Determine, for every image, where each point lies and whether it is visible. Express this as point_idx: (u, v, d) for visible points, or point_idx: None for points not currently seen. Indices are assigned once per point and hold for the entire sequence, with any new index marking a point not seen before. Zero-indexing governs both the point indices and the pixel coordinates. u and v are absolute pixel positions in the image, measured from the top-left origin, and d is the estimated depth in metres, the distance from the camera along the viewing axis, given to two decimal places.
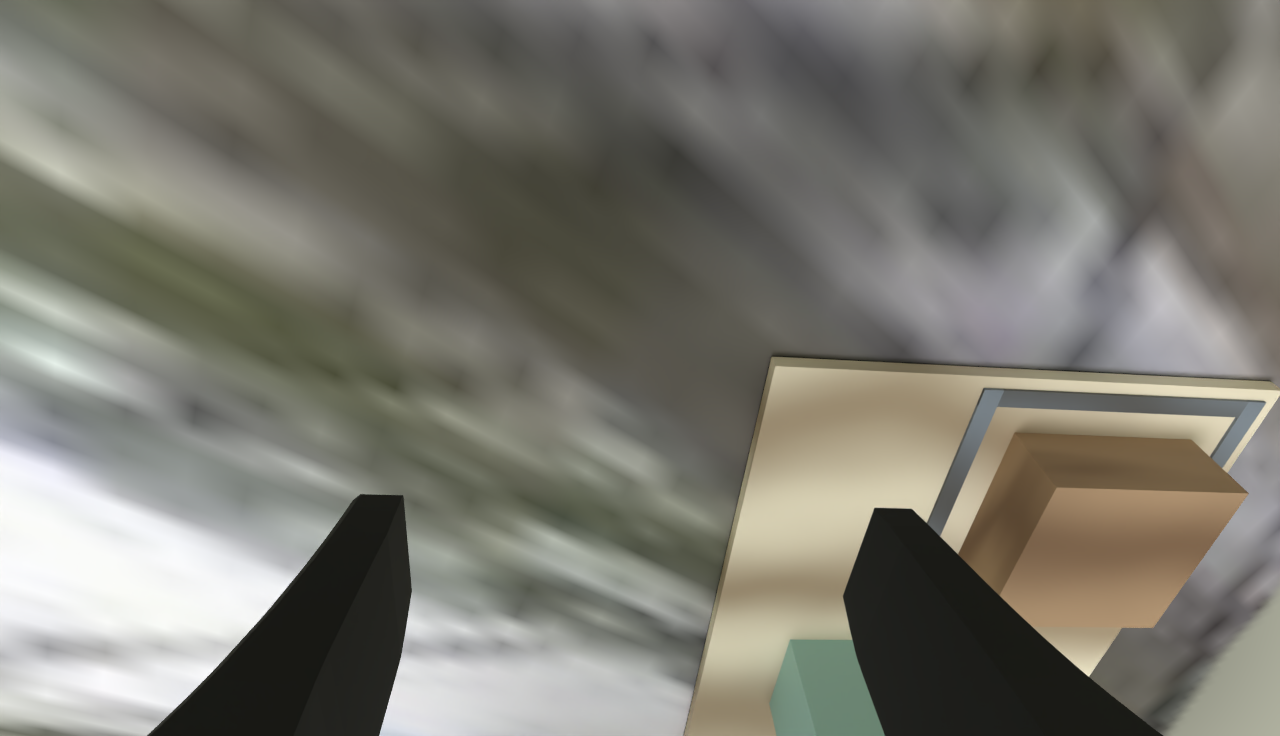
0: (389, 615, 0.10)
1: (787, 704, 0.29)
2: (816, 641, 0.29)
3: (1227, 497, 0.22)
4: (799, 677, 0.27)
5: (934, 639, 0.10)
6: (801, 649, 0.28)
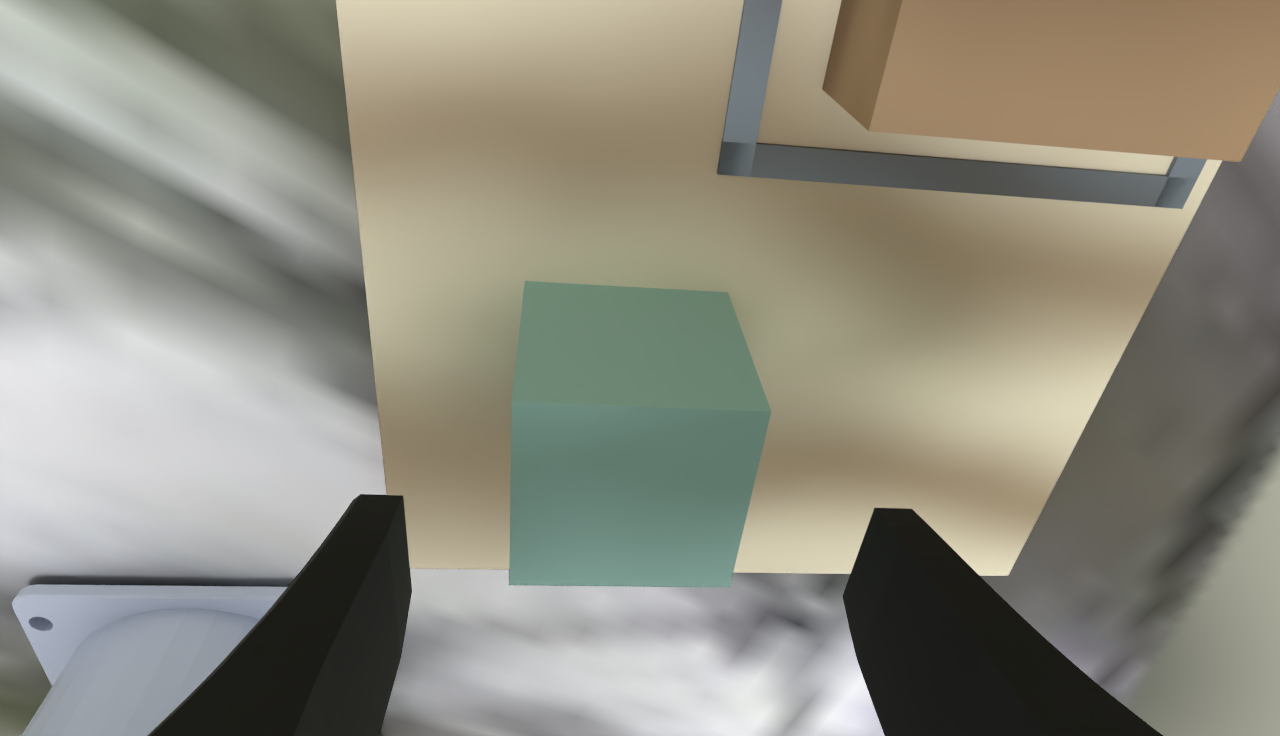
0: (389, 615, 0.10)
1: None
2: (577, 287, 0.15)
3: None
4: (520, 325, 0.14)
5: (934, 639, 0.10)
6: (540, 292, 0.15)
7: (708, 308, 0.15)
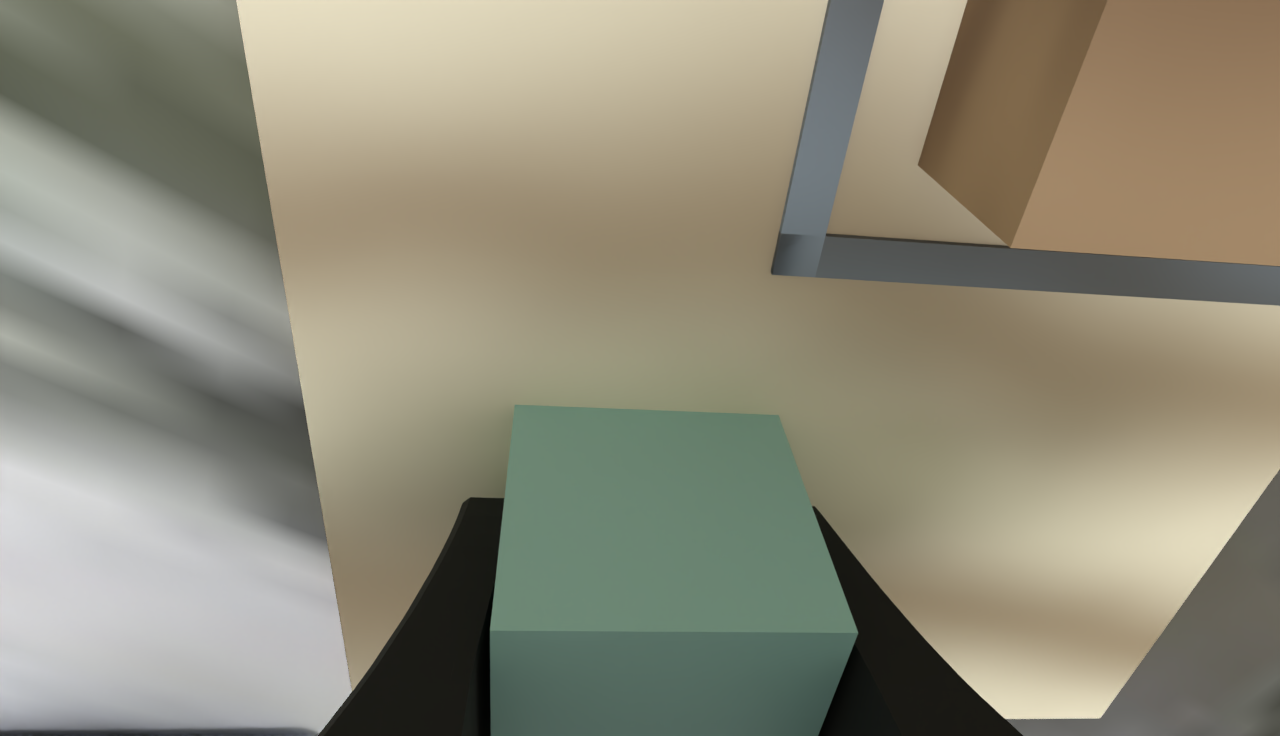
0: None
1: None
2: (583, 411, 0.12)
3: None
4: (507, 479, 0.10)
5: None
6: (534, 423, 0.11)
7: (755, 443, 0.11)
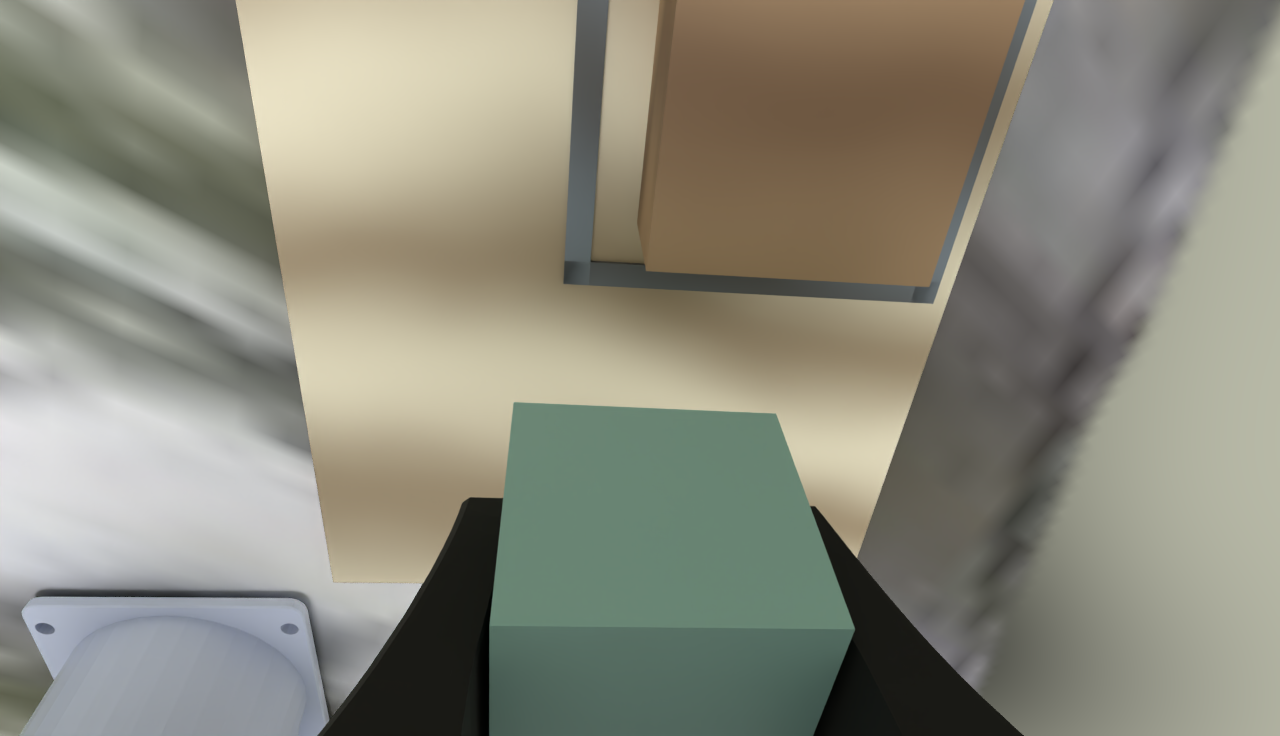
0: None
1: None
2: (582, 409, 0.12)
3: None
4: (506, 475, 0.10)
5: None
6: (533, 420, 0.11)
7: (753, 441, 0.11)
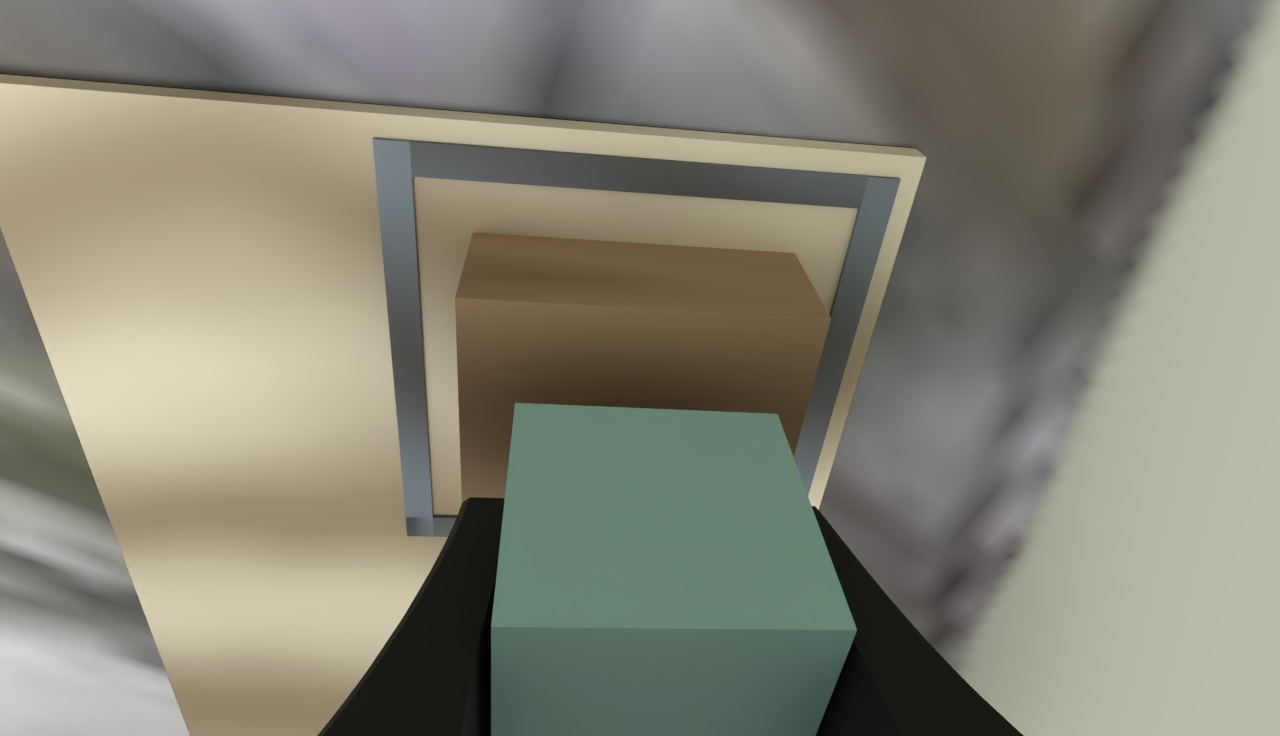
0: None
1: None
2: (583, 410, 0.12)
3: (795, 326, 0.13)
4: (507, 476, 0.10)
5: None
6: (535, 421, 0.11)
7: (755, 442, 0.11)
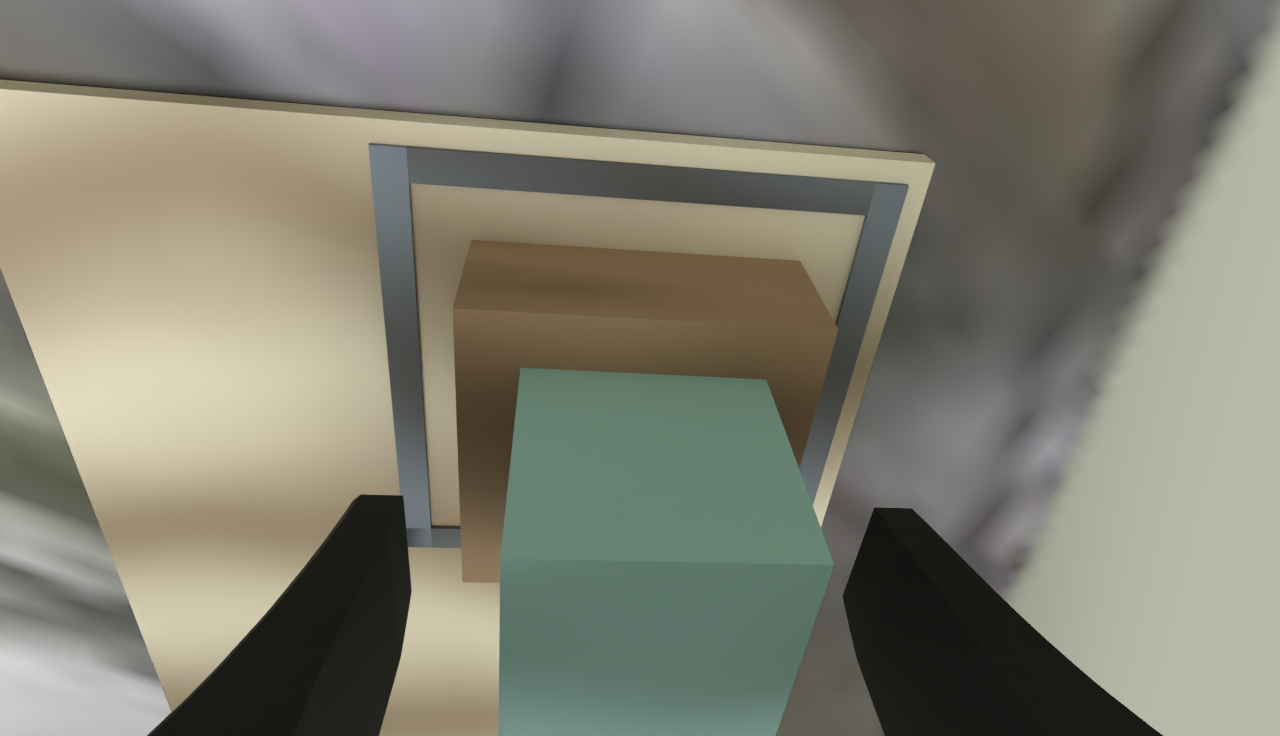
0: (389, 615, 0.10)
1: None
2: (584, 374, 0.12)
3: (801, 337, 0.12)
4: (514, 432, 0.11)
5: (934, 639, 0.10)
6: (539, 384, 0.12)
7: (744, 404, 0.12)
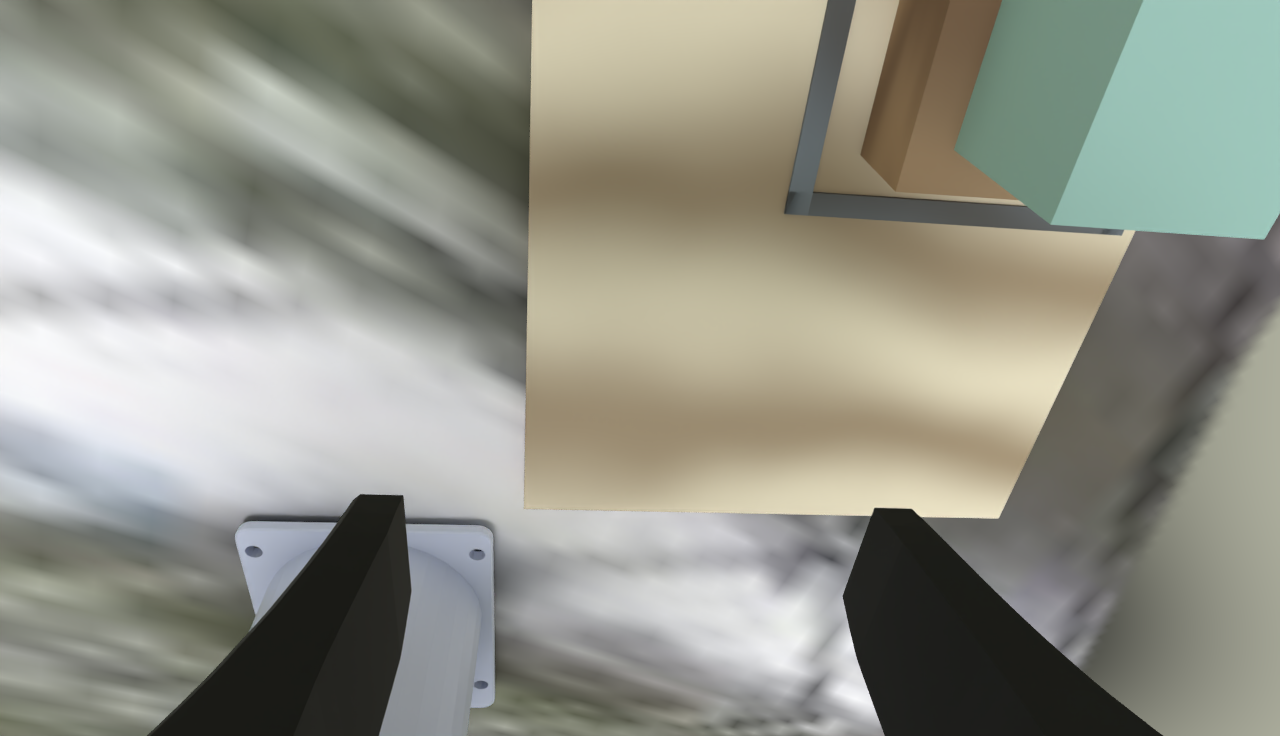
0: (389, 615, 0.10)
1: (1020, 63, 0.14)
2: None
3: None
4: None
5: (934, 639, 0.10)
6: None
7: None
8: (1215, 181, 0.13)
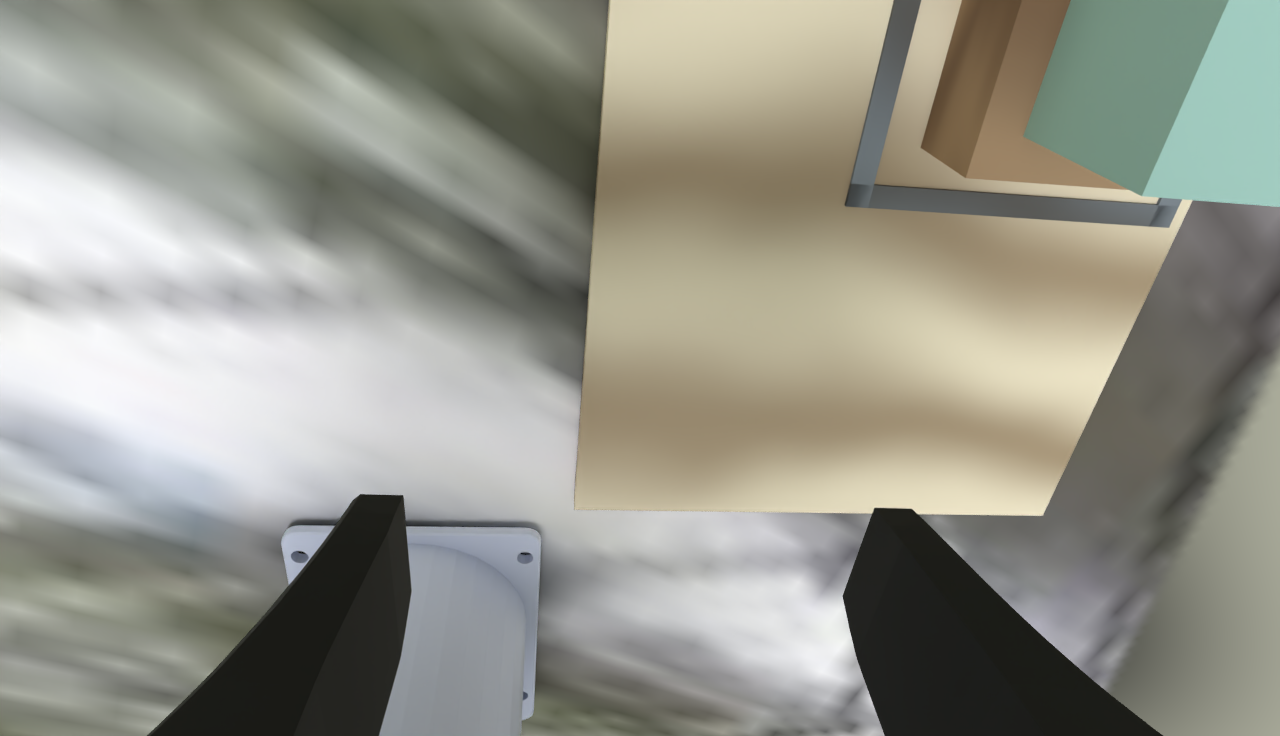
0: (389, 615, 0.10)
1: (1098, 45, 0.15)
2: None
3: None
4: None
5: (934, 639, 0.10)
6: None
7: None
8: None
